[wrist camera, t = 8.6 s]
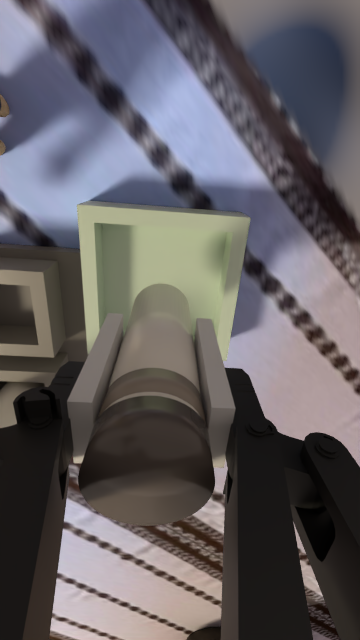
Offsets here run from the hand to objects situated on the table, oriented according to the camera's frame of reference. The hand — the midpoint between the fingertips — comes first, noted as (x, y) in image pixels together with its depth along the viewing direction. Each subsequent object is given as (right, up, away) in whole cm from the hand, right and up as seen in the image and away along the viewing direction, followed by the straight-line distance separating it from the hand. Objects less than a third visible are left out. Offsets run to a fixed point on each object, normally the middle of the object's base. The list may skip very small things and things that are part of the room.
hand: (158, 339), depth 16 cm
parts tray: (0, +4, +8) cm, 10 cm away
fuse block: (-12, 0, +10) cm, 16 cm away
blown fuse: (0, +2, +4) cm, 4 cm away
